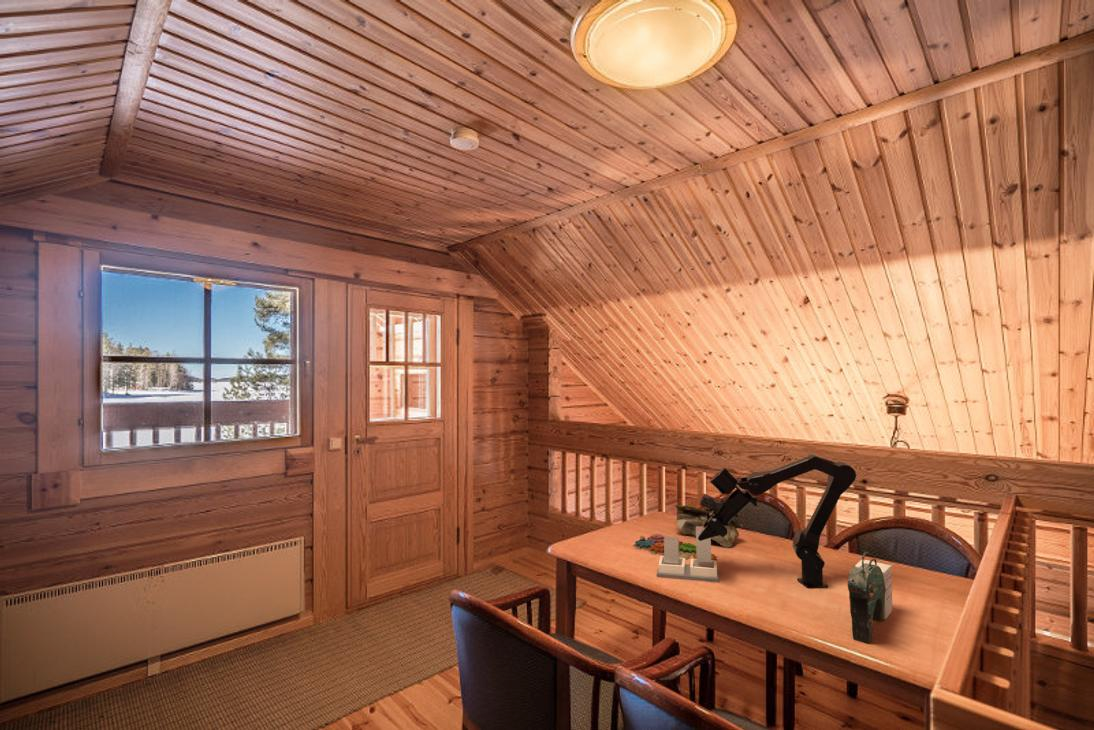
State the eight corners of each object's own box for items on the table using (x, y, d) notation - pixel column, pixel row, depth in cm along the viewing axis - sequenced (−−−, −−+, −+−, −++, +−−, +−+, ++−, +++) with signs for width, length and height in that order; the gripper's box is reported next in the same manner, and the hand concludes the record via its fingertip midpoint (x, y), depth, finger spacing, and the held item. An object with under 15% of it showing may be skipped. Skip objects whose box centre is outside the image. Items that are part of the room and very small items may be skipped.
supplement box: (854, 612, 145) (853, 565, 145) (863, 603, 150) (861, 558, 150) (886, 620, 140) (884, 572, 140) (893, 611, 145) (892, 564, 145)
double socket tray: (718, 569, 178) (717, 559, 178) (718, 582, 167) (718, 571, 167) (659, 564, 183) (659, 554, 183) (656, 576, 173) (656, 565, 173)
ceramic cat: (872, 648, 126) (869, 563, 126) (841, 639, 131) (839, 557, 131) (891, 618, 140) (888, 542, 141) (863, 611, 145) (861, 537, 145)
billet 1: (679, 567, 178) (678, 536, 178) (678, 571, 174) (678, 541, 174) (665, 565, 179) (665, 535, 179) (664, 570, 175) (664, 540, 175)
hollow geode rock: (676, 543, 221) (658, 521, 215) (690, 517, 226) (672, 495, 221) (736, 559, 198) (717, 535, 192) (749, 530, 204) (731, 506, 198)
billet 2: (711, 557, 175) (710, 527, 175) (711, 562, 171) (710, 531, 171) (697, 556, 176) (696, 526, 177) (696, 561, 172) (695, 530, 172)
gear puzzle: (726, 558, 190) (725, 547, 190) (699, 570, 179) (699, 558, 179) (655, 538, 213) (655, 528, 213) (629, 548, 203) (628, 537, 203)
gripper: (714, 480, 182) (681, 511, 185) (714, 492, 164) (678, 526, 167) (739, 504, 179) (706, 535, 182) (742, 519, 162) (706, 554, 165)
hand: (698, 537), depth 174 cm, fingers closed on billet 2, 4 cm apart
